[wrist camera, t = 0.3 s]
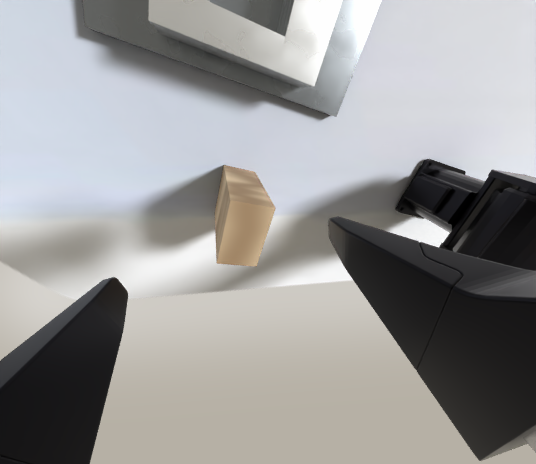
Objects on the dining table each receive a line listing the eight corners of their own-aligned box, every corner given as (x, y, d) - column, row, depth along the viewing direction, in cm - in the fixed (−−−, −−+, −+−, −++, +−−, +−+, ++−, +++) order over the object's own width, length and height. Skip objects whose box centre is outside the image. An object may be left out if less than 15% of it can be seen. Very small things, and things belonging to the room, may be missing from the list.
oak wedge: (254, 172, 21) (275, 208, 14) (243, 217, 23) (256, 266, 17) (223, 164, 20) (230, 200, 13) (214, 213, 22) (216, 263, 16)
